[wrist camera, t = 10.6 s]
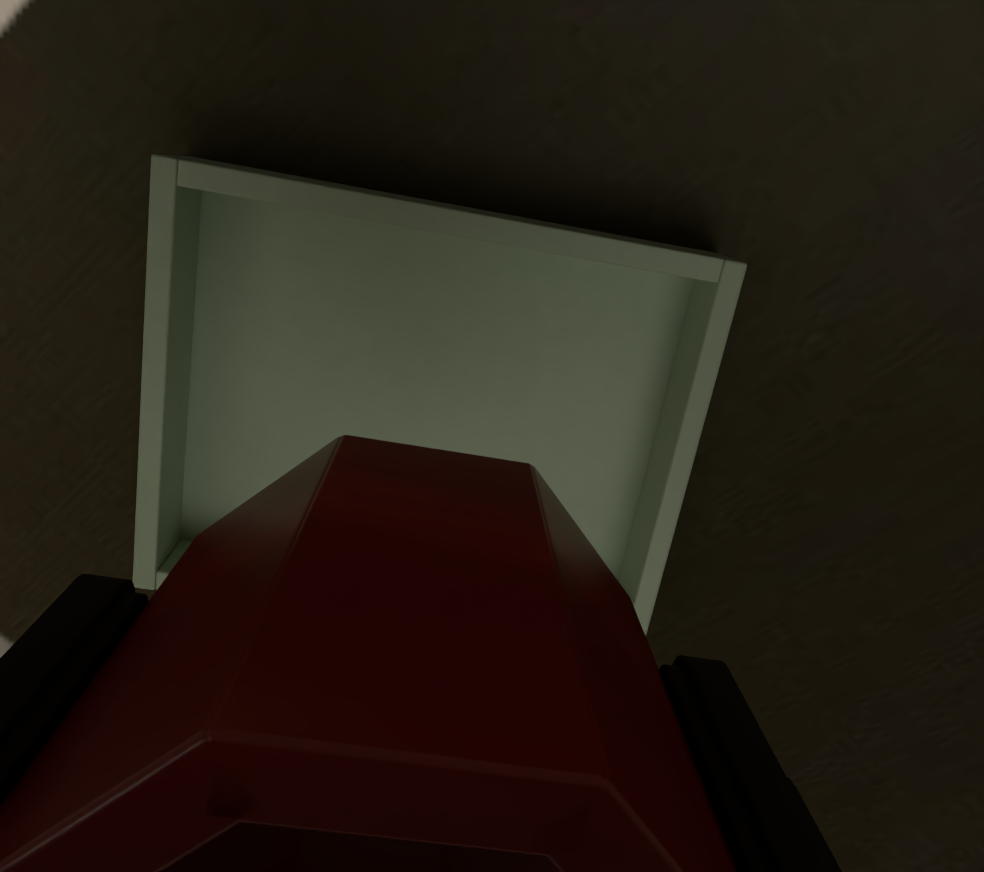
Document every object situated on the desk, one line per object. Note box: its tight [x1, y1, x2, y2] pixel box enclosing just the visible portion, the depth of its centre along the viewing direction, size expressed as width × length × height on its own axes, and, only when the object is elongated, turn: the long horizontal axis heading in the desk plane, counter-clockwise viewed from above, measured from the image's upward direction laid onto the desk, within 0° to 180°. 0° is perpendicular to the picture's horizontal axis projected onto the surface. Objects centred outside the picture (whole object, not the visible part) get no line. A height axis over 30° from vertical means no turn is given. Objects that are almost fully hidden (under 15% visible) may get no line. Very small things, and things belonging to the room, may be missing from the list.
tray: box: [133, 154, 747, 636], centre depth 22 cm, size 14×11×2 cm
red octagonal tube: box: [0, 435, 739, 872], centre depth 9 cm, size 6×6×6 cm
